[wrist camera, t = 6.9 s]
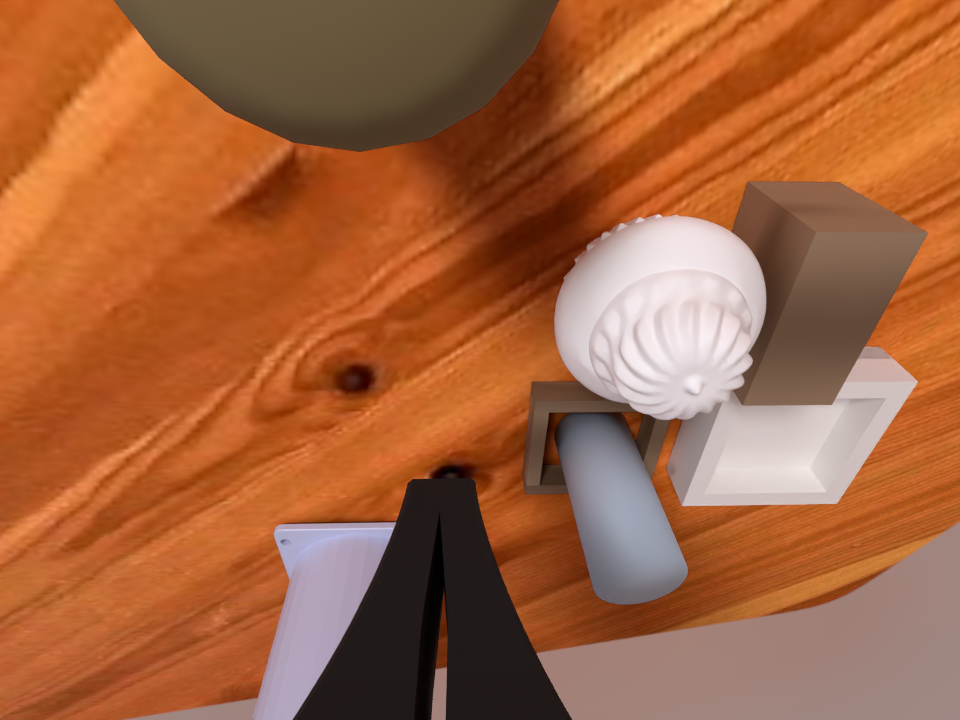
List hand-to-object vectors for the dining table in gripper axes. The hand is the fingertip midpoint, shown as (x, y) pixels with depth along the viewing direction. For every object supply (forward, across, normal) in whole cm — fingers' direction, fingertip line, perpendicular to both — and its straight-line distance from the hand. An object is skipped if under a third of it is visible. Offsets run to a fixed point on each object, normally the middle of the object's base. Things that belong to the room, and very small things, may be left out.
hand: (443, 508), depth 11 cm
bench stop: (+9, -11, -1) cm, 15 cm away
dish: (+9, -14, +6) cm, 18 cm away
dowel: (+9, -6, +7) cm, 13 cm away
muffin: (+10, -6, -1) cm, 11 cm away
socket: (+9, -6, +7) cm, 13 cm away
